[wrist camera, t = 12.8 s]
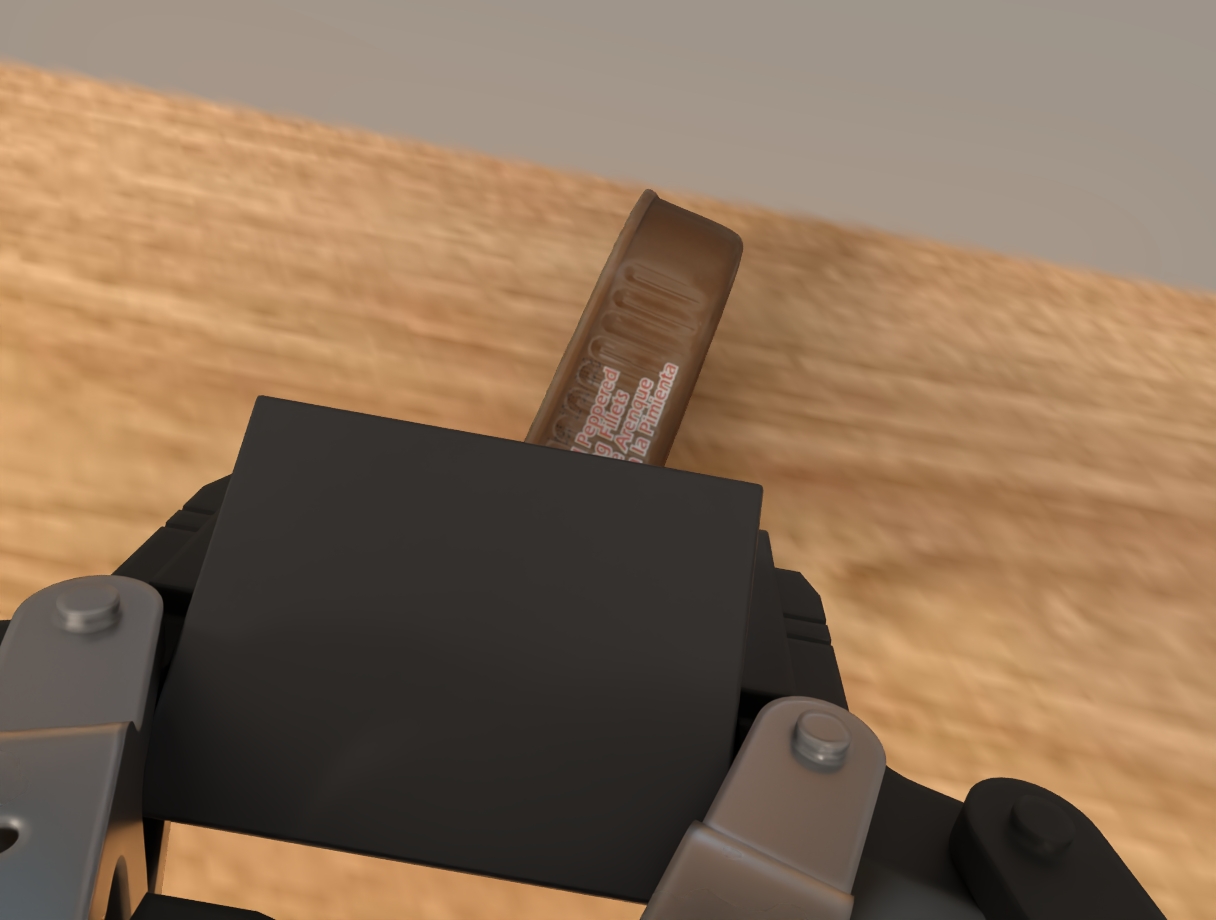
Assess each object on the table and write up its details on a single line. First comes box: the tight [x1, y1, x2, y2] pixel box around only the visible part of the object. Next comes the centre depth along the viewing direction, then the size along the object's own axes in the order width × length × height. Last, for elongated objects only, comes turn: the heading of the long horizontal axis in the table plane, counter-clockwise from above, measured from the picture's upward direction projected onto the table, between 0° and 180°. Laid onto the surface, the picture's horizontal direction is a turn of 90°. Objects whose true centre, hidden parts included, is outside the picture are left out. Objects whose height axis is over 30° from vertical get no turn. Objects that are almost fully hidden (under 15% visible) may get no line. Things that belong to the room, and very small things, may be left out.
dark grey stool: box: [142, 395, 763, 905], centre depth 12 cm, size 5×4×8 cm
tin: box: [524, 189, 743, 467], centre depth 21 cm, size 15×3×8 cm, turn 159°
